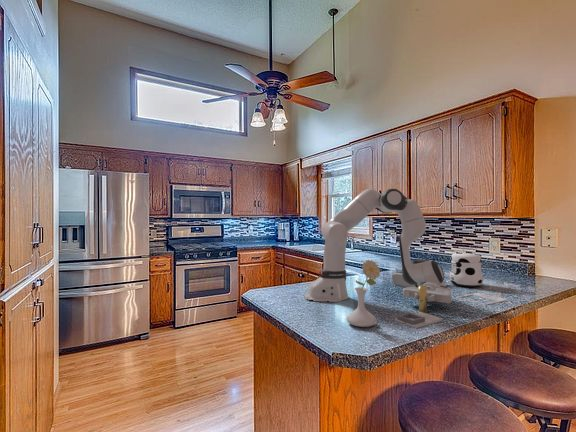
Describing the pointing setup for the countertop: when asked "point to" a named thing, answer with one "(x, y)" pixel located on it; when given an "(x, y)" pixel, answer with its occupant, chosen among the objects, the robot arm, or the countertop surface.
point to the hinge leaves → (417, 319)
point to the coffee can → (419, 262)
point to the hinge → (401, 280)
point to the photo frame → (483, 297)
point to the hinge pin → (422, 299)
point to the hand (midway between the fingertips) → (422, 298)
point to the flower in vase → (361, 314)
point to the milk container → (466, 270)
